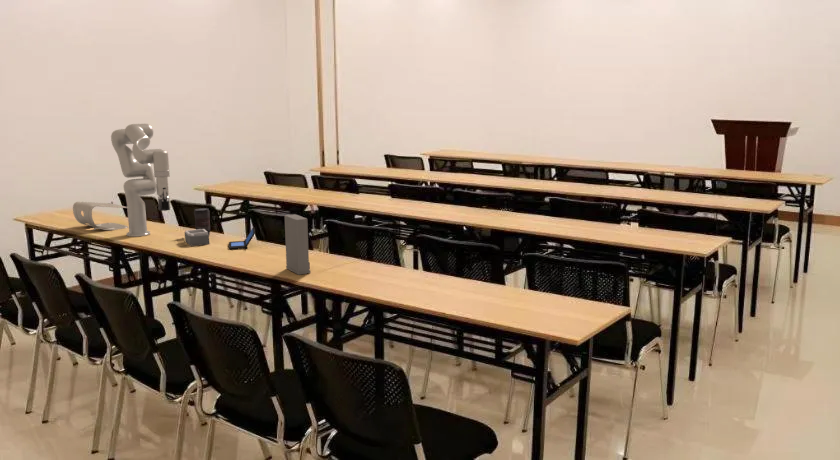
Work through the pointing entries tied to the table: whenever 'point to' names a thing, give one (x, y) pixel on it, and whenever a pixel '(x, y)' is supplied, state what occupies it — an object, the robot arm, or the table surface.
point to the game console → (242, 242)
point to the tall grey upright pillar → (297, 244)
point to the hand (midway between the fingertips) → (164, 207)
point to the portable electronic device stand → (87, 217)
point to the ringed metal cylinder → (161, 204)
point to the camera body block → (196, 237)
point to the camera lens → (202, 219)
